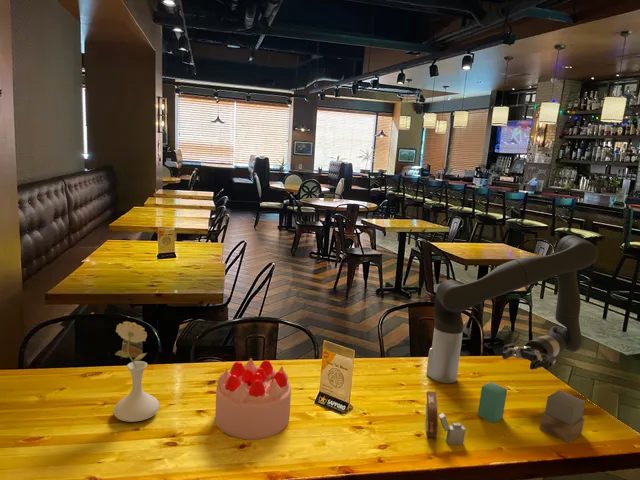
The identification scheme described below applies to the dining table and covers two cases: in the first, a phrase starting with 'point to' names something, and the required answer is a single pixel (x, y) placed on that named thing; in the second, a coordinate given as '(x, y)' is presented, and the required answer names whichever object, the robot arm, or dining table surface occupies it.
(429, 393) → the tin
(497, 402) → the teal pillar
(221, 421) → the cake
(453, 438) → the lighter
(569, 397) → the grey square block
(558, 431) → the walnut base block
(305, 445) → the dining table surface
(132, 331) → the flower in vase
